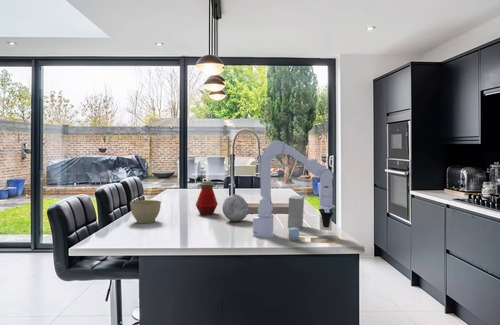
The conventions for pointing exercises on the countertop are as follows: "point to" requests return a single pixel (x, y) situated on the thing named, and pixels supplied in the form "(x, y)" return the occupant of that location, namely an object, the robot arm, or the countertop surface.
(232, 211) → the decorative orb
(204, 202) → the bottle
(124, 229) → the countertop surface
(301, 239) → the board
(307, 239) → the letter T
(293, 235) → the blue cylinder
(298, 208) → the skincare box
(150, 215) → the planter bowl
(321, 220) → the grey block
